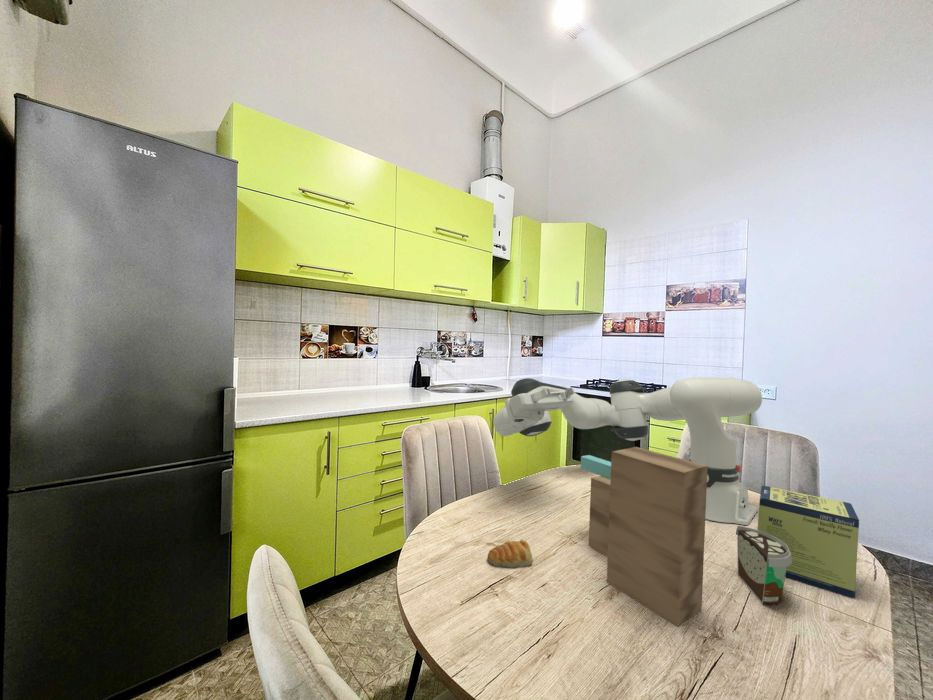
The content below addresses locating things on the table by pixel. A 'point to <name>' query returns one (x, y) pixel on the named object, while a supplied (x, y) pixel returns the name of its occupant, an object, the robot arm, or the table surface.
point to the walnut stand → (652, 529)
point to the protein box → (813, 537)
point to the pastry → (511, 554)
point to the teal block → (596, 466)
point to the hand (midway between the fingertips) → (560, 390)
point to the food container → (762, 564)
